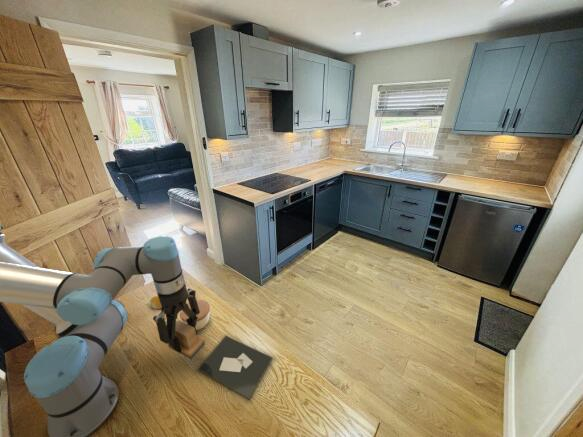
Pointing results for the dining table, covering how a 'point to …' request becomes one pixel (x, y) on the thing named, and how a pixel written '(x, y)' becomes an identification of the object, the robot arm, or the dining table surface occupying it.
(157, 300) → the bread roll
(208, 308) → the trinket box
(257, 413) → the dining table surface
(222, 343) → the slate board
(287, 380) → the dining table surface
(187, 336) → the wooden stepped block
